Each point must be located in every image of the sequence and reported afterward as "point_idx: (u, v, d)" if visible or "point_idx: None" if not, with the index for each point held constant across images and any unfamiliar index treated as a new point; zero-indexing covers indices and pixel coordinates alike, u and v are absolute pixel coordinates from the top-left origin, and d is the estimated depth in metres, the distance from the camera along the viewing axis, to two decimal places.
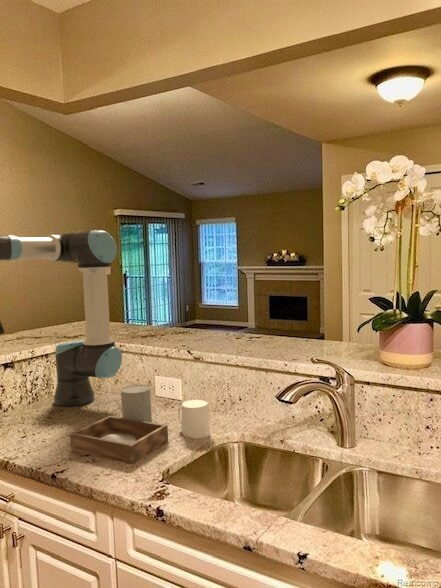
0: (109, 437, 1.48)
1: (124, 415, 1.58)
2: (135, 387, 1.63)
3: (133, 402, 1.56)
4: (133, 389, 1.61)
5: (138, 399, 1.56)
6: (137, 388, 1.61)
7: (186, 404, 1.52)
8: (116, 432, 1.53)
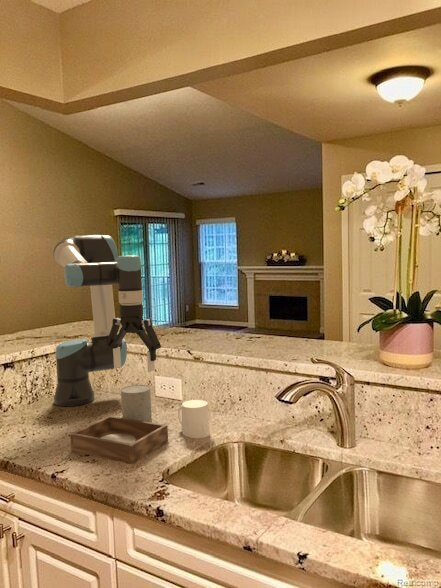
0: (109, 437, 1.48)
1: (124, 415, 1.58)
2: (135, 387, 1.63)
3: (133, 402, 1.56)
4: (133, 389, 1.61)
5: (138, 399, 1.56)
6: (137, 388, 1.61)
7: (186, 404, 1.52)
8: (116, 432, 1.53)
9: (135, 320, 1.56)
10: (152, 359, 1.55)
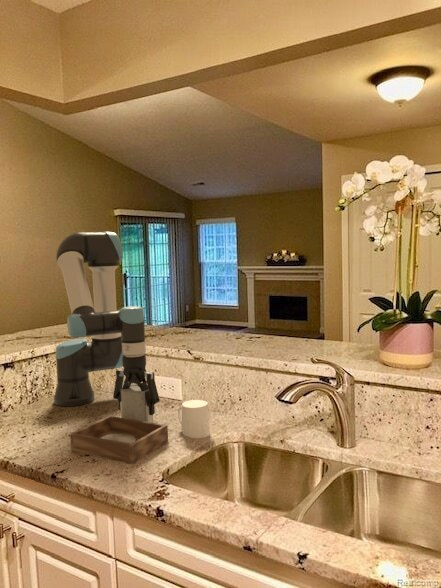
0: (109, 437, 1.48)
1: (124, 415, 1.58)
2: (135, 387, 1.63)
3: (133, 402, 1.56)
4: (133, 389, 1.61)
5: (137, 399, 1.56)
6: (137, 388, 1.61)
7: (186, 404, 1.52)
8: (116, 432, 1.53)
9: (138, 371, 1.58)
10: (151, 413, 1.57)
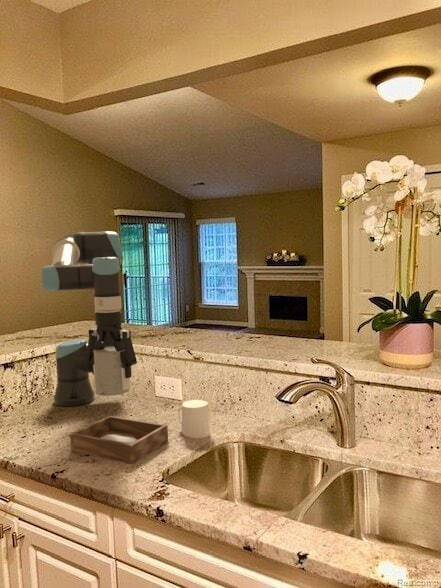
0: (109, 437, 1.48)
1: (97, 378, 1.40)
2: (110, 348, 1.45)
3: (107, 363, 1.39)
4: (107, 350, 1.43)
5: (112, 359, 1.39)
6: (112, 349, 1.44)
7: (186, 404, 1.52)
8: (116, 432, 1.53)
9: (113, 329, 1.40)
10: (127, 376, 1.40)
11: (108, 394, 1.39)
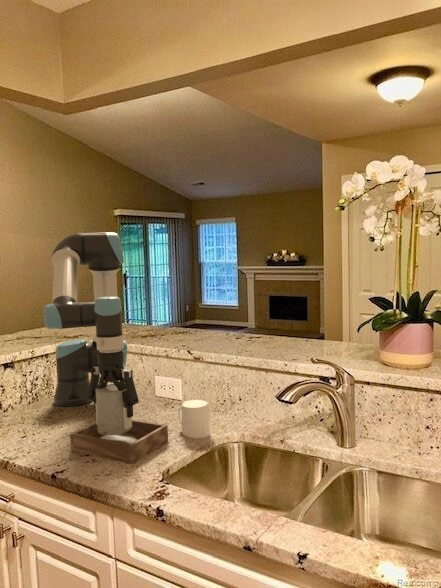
0: (109, 437, 1.48)
1: (99, 418, 1.41)
2: (112, 386, 1.46)
3: (109, 403, 1.40)
4: (109, 388, 1.44)
5: (114, 399, 1.40)
6: (114, 388, 1.45)
7: (186, 404, 1.52)
8: None
9: (115, 368, 1.41)
10: (129, 415, 1.41)
11: (110, 434, 1.40)
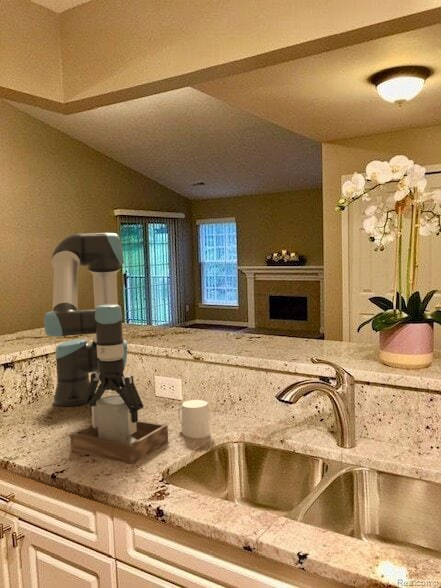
0: None
1: (100, 430, 1.42)
2: (113, 398, 1.47)
3: (110, 415, 1.40)
4: (110, 400, 1.45)
5: (114, 412, 1.40)
6: (115, 400, 1.45)
7: (186, 404, 1.52)
8: None
9: (115, 377, 1.42)
10: (133, 420, 1.40)
11: None
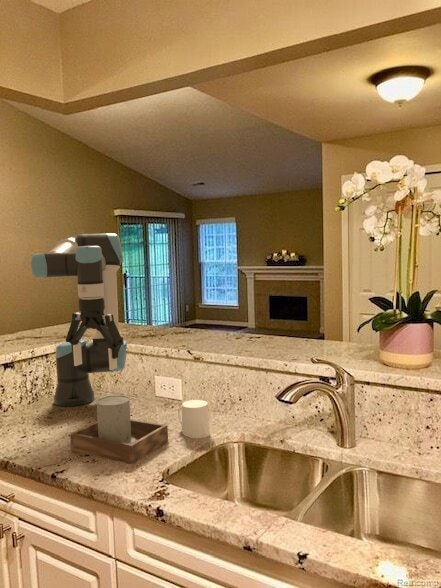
0: None
1: (100, 430, 1.42)
2: (113, 398, 1.47)
3: (110, 415, 1.40)
4: (110, 400, 1.45)
5: (114, 412, 1.40)
6: (115, 400, 1.45)
7: (186, 404, 1.52)
8: None
9: (96, 315, 1.47)
10: (114, 356, 1.46)
11: None
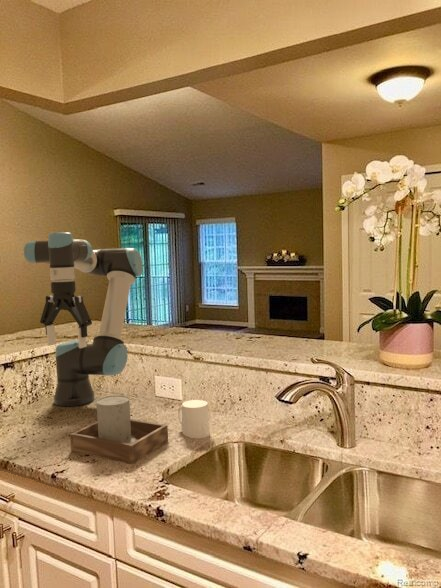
0: None
1: (100, 430, 1.42)
2: (113, 398, 1.47)
3: (110, 416, 1.40)
4: (110, 400, 1.45)
5: (114, 412, 1.40)
6: (115, 400, 1.45)
7: (186, 404, 1.52)
8: None
9: (66, 297, 1.57)
10: (83, 335, 1.56)
11: None
